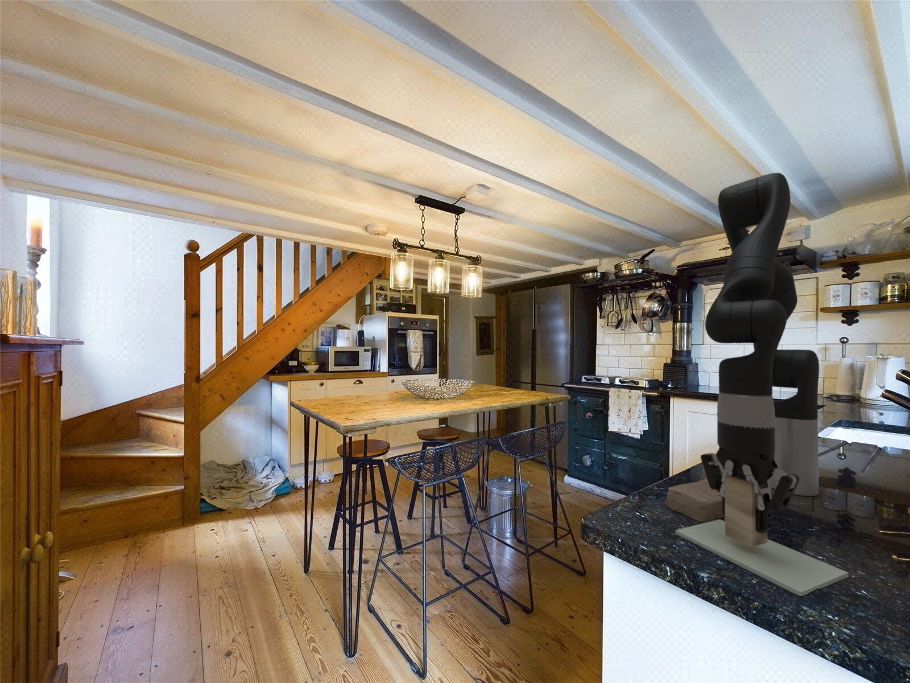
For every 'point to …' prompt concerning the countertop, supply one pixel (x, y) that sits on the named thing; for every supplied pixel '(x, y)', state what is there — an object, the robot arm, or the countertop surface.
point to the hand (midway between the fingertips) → (745, 524)
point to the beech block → (741, 512)
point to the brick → (696, 501)
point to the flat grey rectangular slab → (766, 559)
